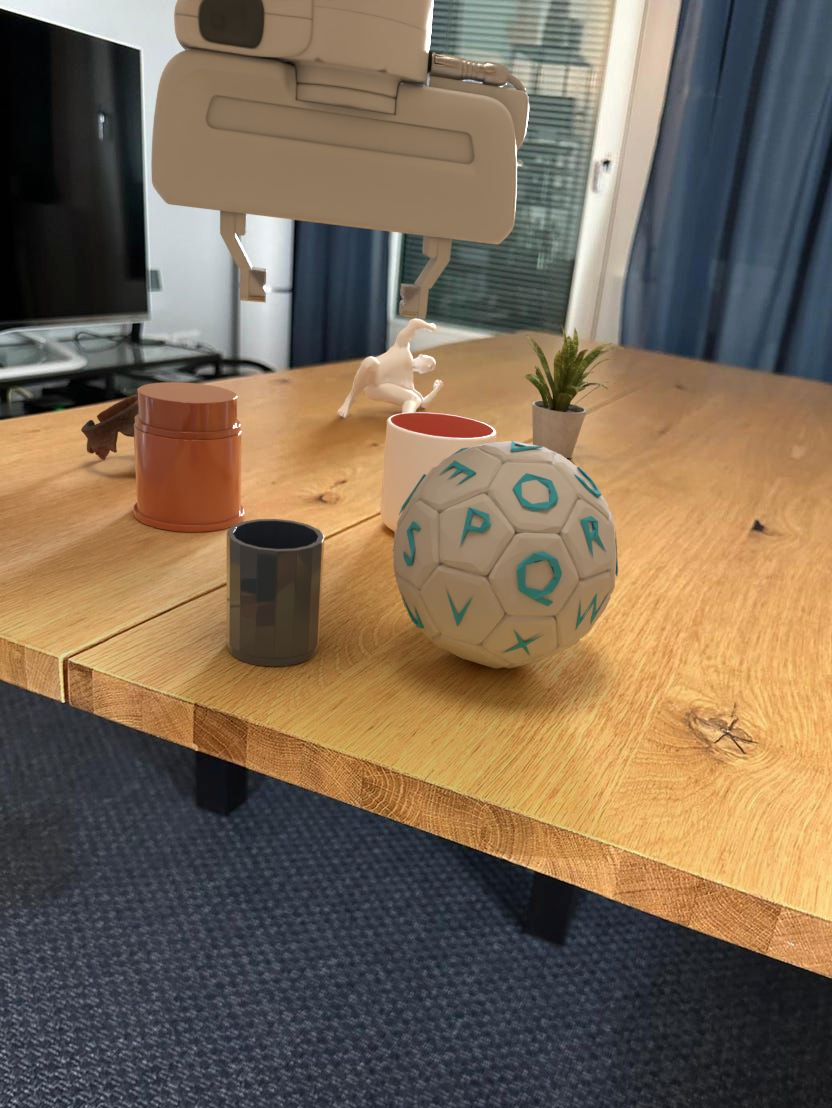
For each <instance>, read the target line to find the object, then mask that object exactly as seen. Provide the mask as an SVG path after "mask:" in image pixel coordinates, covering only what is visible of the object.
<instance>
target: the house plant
mask: <svg viewBox="0 0 832 1108" xmlns="http://www.w3.org/2000/svg"><path fill="white" fill-rule="evenodd" d="M560 326H561V329H562V334H563V344H562V347H561V349H559V350H558V351H557V352H556V354H555V356H554V359H553V376H552V373H551V370H550V366H549V363H548V360H547V358H546V356H545V353H544V352H543V350H542V348H541V346H539V344H538V343H537V342H536V341H535V340H534V339H533V338H532V337H531V335H528V334H526V333H524V332H522V333H523V335H525V336H526V337H527V339H528V340H529V341H530V342H531V344H529V345H530V347H531V349H533V351H534V353H535V354H536V356H537V357H538V359H539V361H540V364H541V367H542V368H543V372H544V374H545V377H546V380H547V382H548V383H547V382H546V380H545V377H544V375H543V373H542V371H541V369H540V368H539V366H538V365H534V369H535V375H534V374H532V373H528V374H526V375H524V376H522V377H521V380H522V379H526V380H527V381H529V382H530V383H531V384H532V385H533V386H534V387H535V388H536V389H537V390H538V392H539V394H540V396H541V400H535V401H533V402H532V404H531V407H532V409H531V410H532V414H531V415H532V445H536V446H544V447H545V448H547V449H549V450H551V451H554V452H556V453H557V454H561V455H562V456H564V457H565V458H569V459H571V458H572V457H573V454H574V451H575V447H576V445H577V442H578V438H579V435H580V433H581V429H582V427H583V425H584V424H583V423H584V420H585V418H586V415H587V409H586V408H585V407H583V406H580V405H577V404H579V402H580V401H582V400H583V399H584V398H585V397H587V396H588V395H590V394H592V392H594V391H595V390H597V389H599V388H600V387H603V388H604V389H606V390H607V391H609V392H610V394H612V392H611V390H610V388H608V387H607V386H605V385H607V384H616V382H615V381H608V382H604V383H602V384H601V383H598V382H589V381H588V380H585V379H586V378H587V376H589V375H590V374H593V373H594V371H593V369H594V368H595V367H597V366H598V365H599V364H601V363H603V362H605V361H617V358H605V359H602V360H600V361H598V362H597V363H596V364H594V366H593V367H592V368H591V369H590V370H589V371H587V372H586V370H587V369H588V368H589V367H590V366H591V365H592V364H593V363H594V361H596V360H597V359H598V358H599V357H601V356H602V355H604V354H606V353H608V352H610V351H614V350H618V349H619V350H621V349H622V350H627V349H631V348H629V347H621V346H619V347H618V346H617V347H611V348H607V349H605V347H607V346H610V345H612V344H613V343H611V342H610V343H604V344H602V345H598V346H597V347H595V348H594V349H593V348H589V349H583V350H581V351H579V345H580V344H579V334H578V331H577V329H576V328H574V330H573V339H572V338H571V336H570V335H568V336H567V335H566V331H565V328H564V326H563V325H562V324H560ZM603 349H605V350H603ZM588 351H589V353H588V354H587V355H586V353H587V352H588ZM585 355H586V356H585ZM548 385H549V386H548ZM589 386H597V387H595V388H594V389H592V390H591V391H589V392H588V393H586V394H585V395H584V396H583V397H582V398H580V399H579V400H578V401H576V403H571V402H572V401H573V400H574V398H575V397H576V396H577V395H578V393H579V392H582V391H584V390H585V389H586V388H587V387H589ZM549 387H550V388H549ZM550 391H551V392H550Z"/></svg>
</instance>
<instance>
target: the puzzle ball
mask: <svg viewBox="0 0 832 1108" xmlns="http://www.w3.org/2000/svg"><path fill="white" fill-rule="evenodd" d="M403 509H404V510H403ZM402 511H403V512H402ZM401 512H402V514H401V516H400V518H399V520H398V522H397V529H396V531H395V532H394V533H393V534H394V536H393V549H392V551H393V572H394V573H393V574H394V577H395V580H396V584H397V587H398V591H399V594H400V597H401V600H402V603H403V606H404V608H405V609H406V611H407V614H408V616H409V618H410V619H411V622H412V623H413V624H414V625H415V627H417V628H419V630H420V631H421V632H422V633H423V635H425V637H427V638H428V639H429V640H430V641H431V642H433V643H434V644H435V646H436V647H439V648H441V649H442V650H444V651H446V652H449V653H451V654H452V655H454V656H456V657H458V658H460V659H462V660H466V661H469V662H472V663H475V664H479V665H481V666H486V667H488V668H492V669H502V668H505V669H509V670H510V669H513V668H518V667H522V666H525V665H529V664H532V663H535V662H539V661H541V660H544V659H547V658H551V657H553V656H554V655H557V654H559V653H561V652H563V651H565V650H567V649H569V648H571V647H574V646H576V645H577V644H578V643H579V642H580V641H581V639H583V638H584V637H585V636H586V635H588V633H589V632H591V630H592V629H593V627H594V626H595V625H596V623H597V621H598V620H599V619H600V617H601V616H602V614H603V613H604V612H605V611H606V609H607V607H608V604H609V602H610V600H611V596H612V594H613V592H614V590H615V588H616V577H618V575H619V564H618V545H617V537H616V528H615V520H614V517H613V513H612V511H611V510H610V506H609V504H608V502H607V500H606V499H605V497H604V496H603V493H602V492H601V490H600V489H599V487H598V486H597V485H596V483H595V482H594V481H593V479H592V478H591V476H589V474H588V473H587V472H586V471H585V470H583V469H582V468H581V467H579V466H577V465H575V464H574V463H573V462H572V461H570V460H569V459H566V458H565V457H564V456H562V455H561V454H557V453H556V452H554V451H551V450H549V449H547V448H545V447H544V446H536V445H533V444H530V443H525V442H520V441H516V440H506V441H495V442H492V443H487V444H481V445H475V446H472V447H469V448H462V449H460V450H459V451H457V452H456V453H454V454H453V455H451V456H450V457H448V458H446V459H443V461H442V462H441V463H440V464H439V465H438V466H437V467H434V468H432V469H431V470H430V472H429V473H428V474H427V475H425V474H424V475H423V476H422V478H421V479H420V481H419V482H418V484H417V485H416V487H415V488H414V489H413V491H412V492H411V494H410V495H409V497H408V498H407V500H406V501H405V503H404V504H403V506H402V508H401V511H400V513H401ZM400 513H399V515H400Z"/></svg>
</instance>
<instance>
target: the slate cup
mask: <svg viewBox="0 0 832 1108" xmlns="http://www.w3.org/2000/svg"><path fill="white" fill-rule="evenodd" d="M324 552H325V535H324V534H323V533H322V531H321V530H320V529H318V528H317V527H315V526H312V525H310V524H308V523H303V522H300V521H295V520H290V519H281V518H280V519H279V518H257V519H250V520H243V521H241V522H240V523H238V524H236V525H233V526H231V527H229V528H228V530H227V531H226V620H225V621H226V623H225V625H226V629H225V630H226V637H225V638H226V647H227V650H228V652H229V653H230V654H231V655H232V656H233V657H234V658H235V659H237V660H240V661H241V662H244V663H246V664H250V665H254V666H262V667H271V668H272V667H278V668H279V667H288V666H289V667H290V666H295V665H298V664H301V663H304V662H306V661H309V660H311V659H312V658H314V656H316V654H317V653H318V651H319V644H320V643H319V642H320V639H321V636H320V635H321V615H322V614H321V613H322V595H323V594H322V593H323V573H324V557H325V556H324V555H325V553H324Z"/></svg>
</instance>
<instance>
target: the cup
mask: <svg viewBox="0 0 832 1108" xmlns="http://www.w3.org/2000/svg"><path fill="white" fill-rule="evenodd" d="M496 439H497V431H496V429H495V428H494V427H492V426H491V425H489V424H487V423H485V422H482V421H479V420H476V419H472V418H468V417H464V416H459V415H454V414H447V413H438V412H417V411H416V412H413V413H402V412H401V413H396V414H394V415H391V416H389V417H388V418H387V419H386V430H385V442H384V444H385V445H384V457H383V468H382V481H381V482H382V483H381V494H380V508H379V513H380V514H379V515H380V518H381V520H382V522H383V524H385V526H386V527H387V528H388V529H390V531H392V532H394V533H395V531H396V529H397V522H398V520H399V518H400V516H401V514H402V512H403V511H402V512H401V513H400V511H401V508H402V506H403V504H404V503H405V501H406V500H407V498H408V497H409V495H410V494H411V492H412V491H413V489H414V488H415V487H416V485H417V484H418V482H419V481H420V479H421V478H422V476H423V475H424V474H425V475H427V474H428V473H429V472H430V470H431V469H432V468H434V467H437V466H438V465H439V464H440V463H441V462H442V461H443V459H446V458H448V457H450V456H451V455H453V454H454V453H456V452H457V451H459V450H460V449H462V448H469V447H472V446H475V445H481V444H487V443H492V442H496ZM403 510H404V509H403ZM399 513H400V515H399Z"/></svg>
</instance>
